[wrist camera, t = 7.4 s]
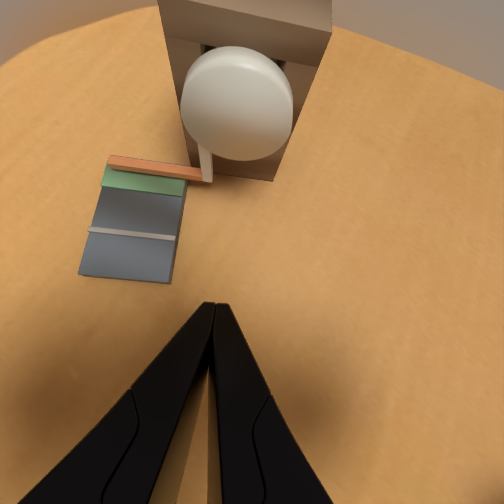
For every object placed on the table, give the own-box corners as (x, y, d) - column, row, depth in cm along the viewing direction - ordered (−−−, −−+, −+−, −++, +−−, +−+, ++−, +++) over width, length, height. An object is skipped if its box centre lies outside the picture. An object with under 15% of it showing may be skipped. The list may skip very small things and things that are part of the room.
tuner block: (266, 292, 15) (337, 262, 6) (85, 276, 14) (-183, 205, 5) (276, 127, 18) (330, -54, 9) (133, 102, 17) (34, -133, 8)
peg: (266, 193, 15) (310, 82, 8) (110, 171, 14) (-9, 19, 7) (274, 70, 18) (312, -94, 11) (145, 44, 17) (88, -158, 10)
